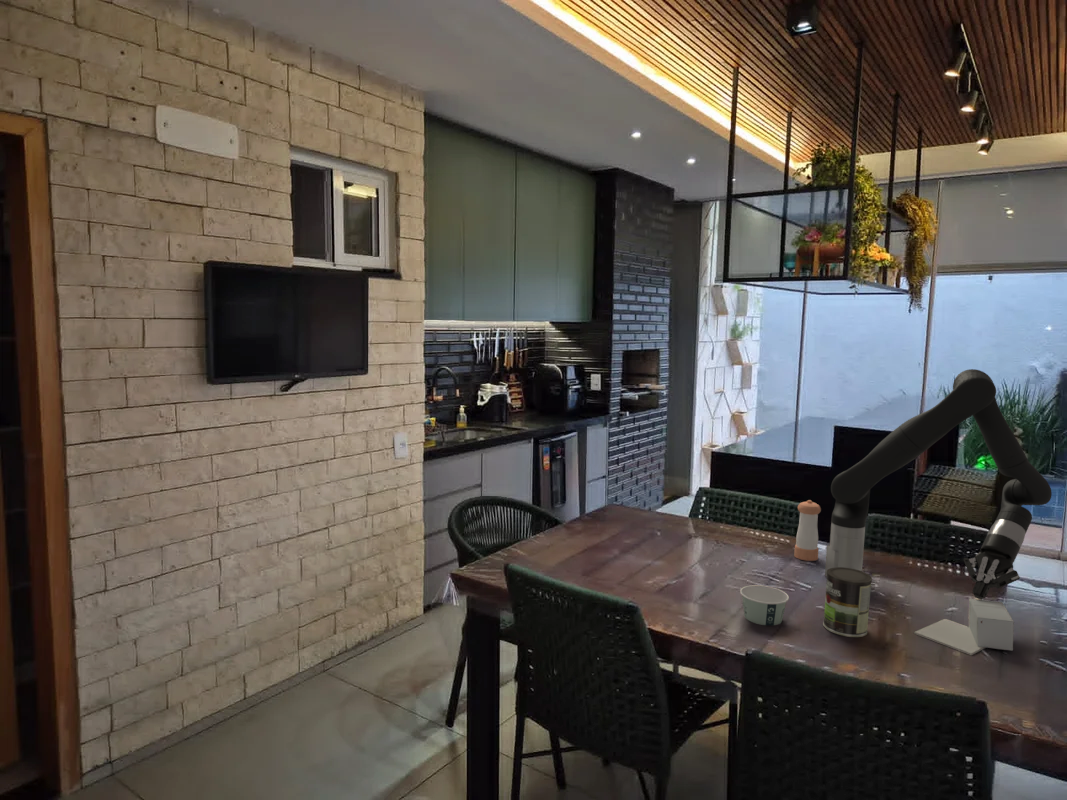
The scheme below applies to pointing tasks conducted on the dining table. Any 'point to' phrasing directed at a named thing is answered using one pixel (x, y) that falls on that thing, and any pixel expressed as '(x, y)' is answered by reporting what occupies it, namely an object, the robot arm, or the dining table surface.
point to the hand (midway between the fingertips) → (977, 596)
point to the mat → (951, 636)
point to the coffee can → (847, 601)
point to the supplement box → (991, 624)
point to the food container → (763, 604)
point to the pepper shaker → (807, 532)
